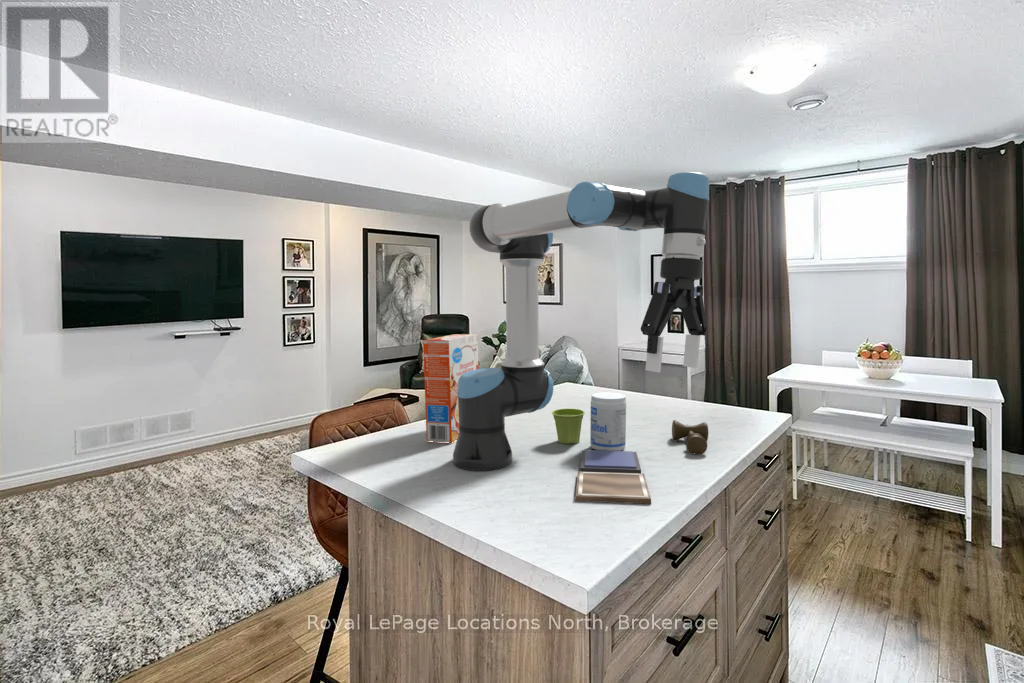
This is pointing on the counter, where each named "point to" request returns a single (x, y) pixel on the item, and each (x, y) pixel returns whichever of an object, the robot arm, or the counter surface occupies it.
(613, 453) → the ink pad
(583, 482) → the board
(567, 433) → the plant pot
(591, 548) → the counter surface
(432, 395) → the orange cereal box
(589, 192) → the robot arm
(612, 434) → the supplement tub
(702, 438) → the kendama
